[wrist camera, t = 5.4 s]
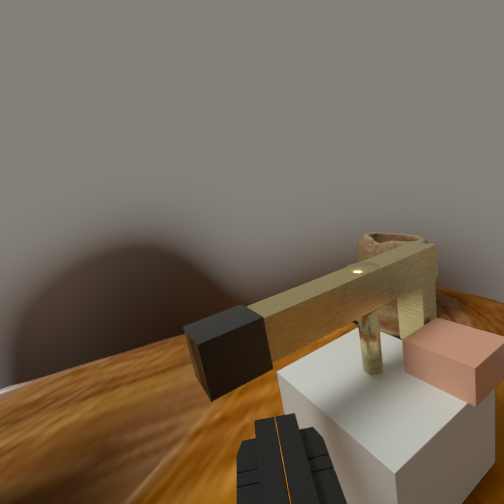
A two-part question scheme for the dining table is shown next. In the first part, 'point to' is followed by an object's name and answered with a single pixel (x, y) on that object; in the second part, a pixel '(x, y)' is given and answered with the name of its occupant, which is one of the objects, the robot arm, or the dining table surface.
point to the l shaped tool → (315, 317)
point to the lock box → (389, 426)
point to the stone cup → (374, 246)
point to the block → (455, 359)
